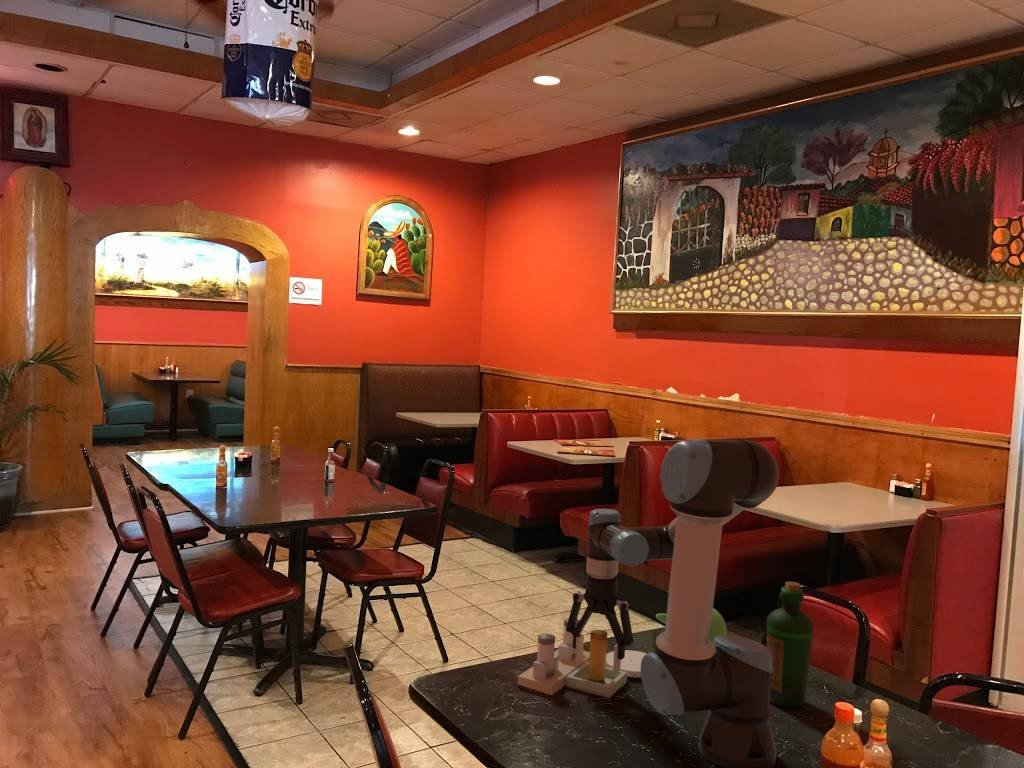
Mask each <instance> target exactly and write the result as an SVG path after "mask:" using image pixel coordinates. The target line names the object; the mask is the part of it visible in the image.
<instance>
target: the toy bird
mask: <svg viewBox="0 0 1024 768" xmlns="http://www.w3.org/2000/svg"><path fill="white" fill-rule="evenodd" d="M666 614H667V612H666V613H663V612H660V613H657V614H655V618H656V619H657V620H659V622H661V623H663V624H665V623H666ZM718 635H728V631H727V624H726V622H725V620H724V617H723V616H722V614H721V613H720V612H719V611H718V610H717V609H716V608H714V607H713V611H712V620H711V628H710V637H709V639H710V641H711V642H712V643H713V641H714V638H715V637H716V636H718Z"/></svg>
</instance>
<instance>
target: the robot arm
mask: <svg viewBox="0 0 1024 768" xmlns="http://www.w3.org/2000/svg"><path fill="white" fill-rule="evenodd" d="M659 476H660V477H659V478H660V484H661V491H662V494H663V495H664V497H665V499H667V501H669V502H670V503H669V507H670V509H671V510H672V511H673V512H674V514H675V515H676V517H675V518H674V519H673V520H672V521H671V522H669V523H668V524H667V525H662V526H658V525H657V526H641V527H640V526H639V527H638V526H637V527H626V526H624V525H622V517H621V513H620V511H619V510H615V509H610V508H596V509H593V510H591V511H590V513H589V516H588V517H589V519H588V525H587V527H588V531H587V533H588V534H587V553H586V555H587V556H586V569H585V570H586V571H585V572H586V573H587V574H586V576H585V592H581V591H577V592H575V593H574V594H572V606H571V610H570V613H569V617H568V618H569V620H568V623H567V627H566V631H567V632H570V633H572V635H573V648H574V649H576V656H575V664H579V663H581V662H582V661H583V651H584V644H585V643H584V641H585V639H584V638H585V637H584V636H585V635H584V634H582V632H583V630H584V628H585V626H586V625H587V623H588V621H589V619H590V618H591V616H592V614H599V615H602V616H605V618H606V620H607V621H608V624H609V626H610V629H611V631H612V635H613V636H614V639H615V641H616V644H615V645H614V647H613V651H614V664H613V673H614V674H617V673H618V672H619V671H620V667H621V660H622V659H623V658H624V657H625V650H626V647H629V646H630V645H631V644H632V643H634V635H633V629H632V624H631V617H630V613H629V612H630V609H629V608H630V602H629V600H626V601H622V600H619V598H618V584H619V583H618V582H619V579H618V576H617V575H618V574H619V563H620V564H622V565H626V566H628V567H637V566H639V565H641V564H642V563H644V561H647V562H648V561H655V560H656V561H660V560H662V561H663V560H671V567H670V570H671V571H670V577H669V578H670V579H669V585H668V595H667V596H668V597H667V606H666V613H667V614H666V623H665V625H664V631H663V632H661V633H660V634H659V635H657V636H656V638H655V644H654V651H653V652H652V651H649V652H648V653H646V654H645V655H644V657H643V658H642V661H641V677H640V679H641V684H642V686H643V690H644V693H645V695H646V697H647V700H648V701H649V704H651V706H652V707H653V708H654V709H655V710H656V711H657V712H658V713H659V714H662V715H667V716H668V715H678V716H681V715H683V714H689V713H696V712H704V711H709V712H708V714H707V717H706V720H705V722H704V725H703V727H702V730H701V732H700V735H699V737H698V738H699V739H698V750H699V752H700V754H701V755H702V757H703V758H705V759H706V760H707V761H709V762H710V763H711V764H714V765H716V766H718V767H720V768H773V767H774V766H775V765H776V761H777V746H776V742H775V739H774V734H773V731H772V727H771V723H770V713H771V701H770V696H771V682H772V673H773V668H772V654H771V652H770V650H769V649H768V648H767V646H766V645H764V644H762V643H760V642H758V641H755V640H753V639H751V638H747V637H742V636H739V635H733V634H727V635H718V636H716V637H715V638H714V641H713V643H712V642H711V641H710V639H709V637H710V628H711V620H712V611H713V608H714V602H715V595H716V594H715V593H716V585H717V584H716V583H717V576H718V566H719V558H720V550H721V548H720V547H721V541H722V533H723V526H724V525H725V524H727V523H728V522H730V521H731V520H732V519H733V518H735V517H736V516H737V515H739V514H741V512H743V511H744V510H746V509H754V508H757V507H759V506H760V505H762V503H764V502H766V500H768V499H769V498H770V497H771V496H772V495H773V494H774V492H775V491H776V489H777V487H778V484H779V478H780V469H779V465H778V461H777V460H776V458H775V456H774V455H773V453H772V452H771V451H770V450H769V449H768V448H767V447H766V446H764V445H763V444H761V443H759V442H758V441H753V440H749V439H700V438H696V439H692V440H691V439H690V440H688V439H687V440H680V441H678V442H676V443H675V444H673V445H672V447H670V448H669V449H668V450H667V451H666V454H665V456H664V458H663V460H662V464H661V468H660V475H659ZM583 601H585V603H586V605H587V606H586V608H585V610H584V612H583V614H582V616H581V617H580V619H579V620H580V621H579V623H578V624H577V626H576V627H575V624H576V621H577V619H578V616H579V615H580V614H579V613H580V610H581V607H582V603H583ZM616 606H617V607H618V608H617V609H618V610H619V616H620V617H619V618H620V623H621V625H620V623H619V620H618V617H617V612H616V610H615V609H616Z"/></svg>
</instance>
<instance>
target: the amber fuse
mask: <svg viewBox="0 0 1024 768" xmlns="http://www.w3.org/2000/svg"><path fill="white" fill-rule="evenodd" d="M589 639H590V641H589V652H590V657H589V677H588V680H589V681H593V682H597V683H601V684H605V673H606V654H607V652H608V650H607V648H608V631H605V630H603V629H594V630H591V631H590V638H589Z"/></svg>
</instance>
